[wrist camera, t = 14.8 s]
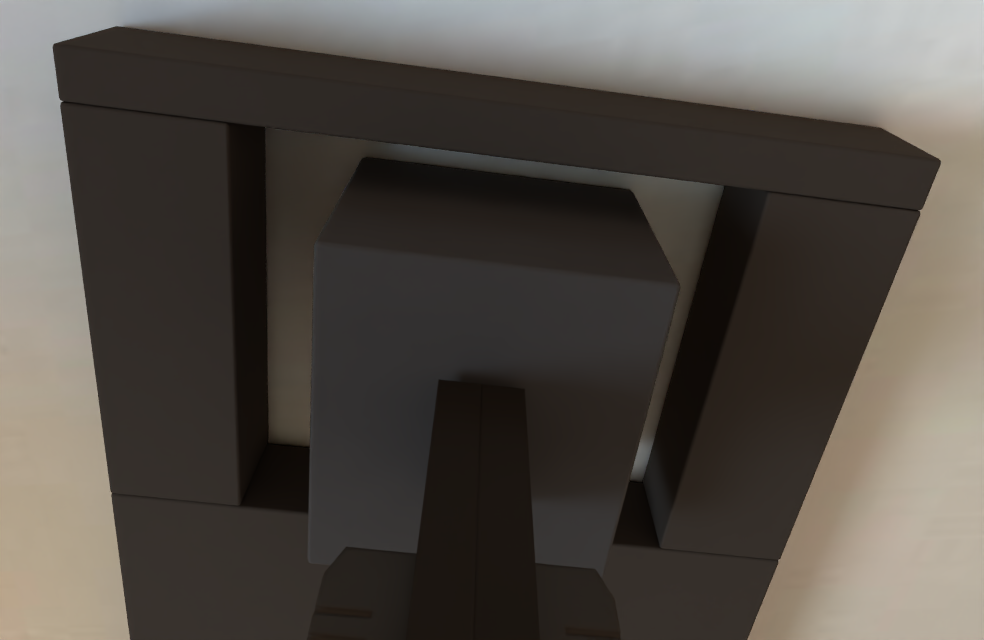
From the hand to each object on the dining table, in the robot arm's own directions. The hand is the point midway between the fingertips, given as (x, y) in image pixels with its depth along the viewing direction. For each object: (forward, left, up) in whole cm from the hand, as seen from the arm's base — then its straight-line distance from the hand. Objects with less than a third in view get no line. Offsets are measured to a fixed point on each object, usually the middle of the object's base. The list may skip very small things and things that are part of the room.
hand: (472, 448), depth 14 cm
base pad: (+5, 0, -5) cm, 8 cm away
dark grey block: (0, 0, -5) cm, 5 cm away
